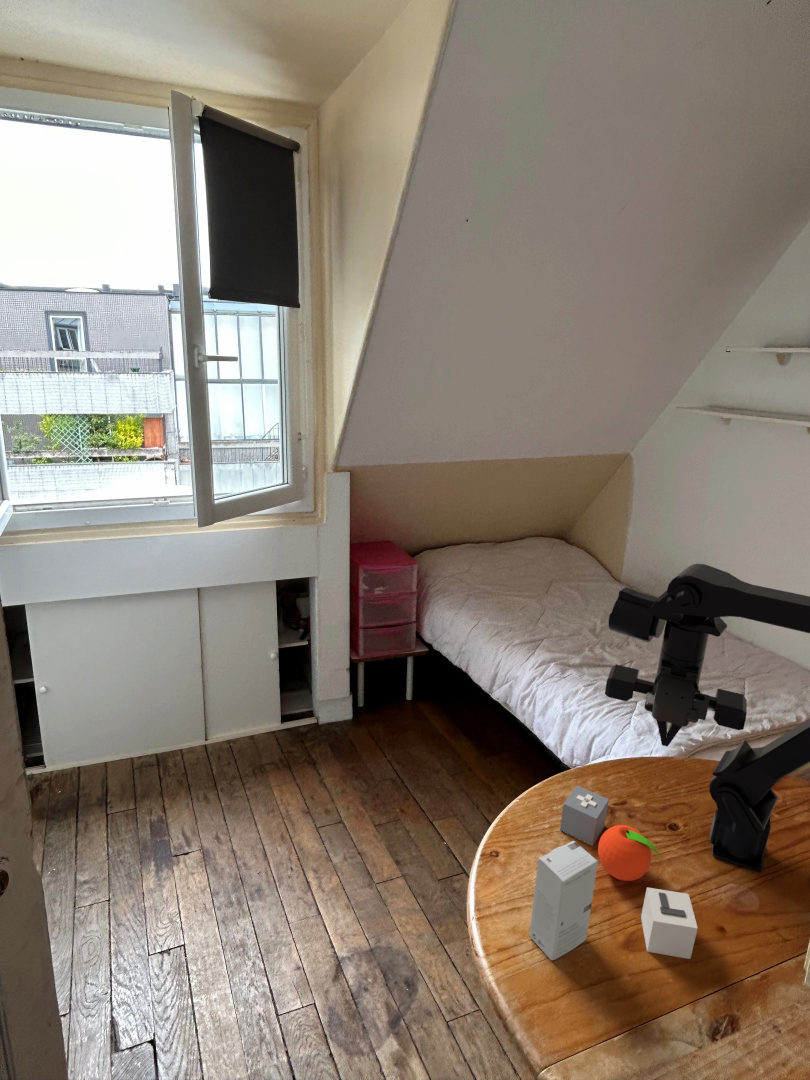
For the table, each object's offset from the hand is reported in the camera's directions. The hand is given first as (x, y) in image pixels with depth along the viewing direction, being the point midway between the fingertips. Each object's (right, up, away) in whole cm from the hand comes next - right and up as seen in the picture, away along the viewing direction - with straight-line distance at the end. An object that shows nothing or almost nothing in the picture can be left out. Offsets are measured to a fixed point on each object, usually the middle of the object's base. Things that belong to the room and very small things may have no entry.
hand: (664, 744), depth 102 cm
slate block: (-12, -13, 0) cm, 18 cm away
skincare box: (-20, -19, -18) cm, 32 cm away
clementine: (-9, -16, -8) cm, 19 cm away
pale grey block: (-7, -19, -17) cm, 26 cm away
